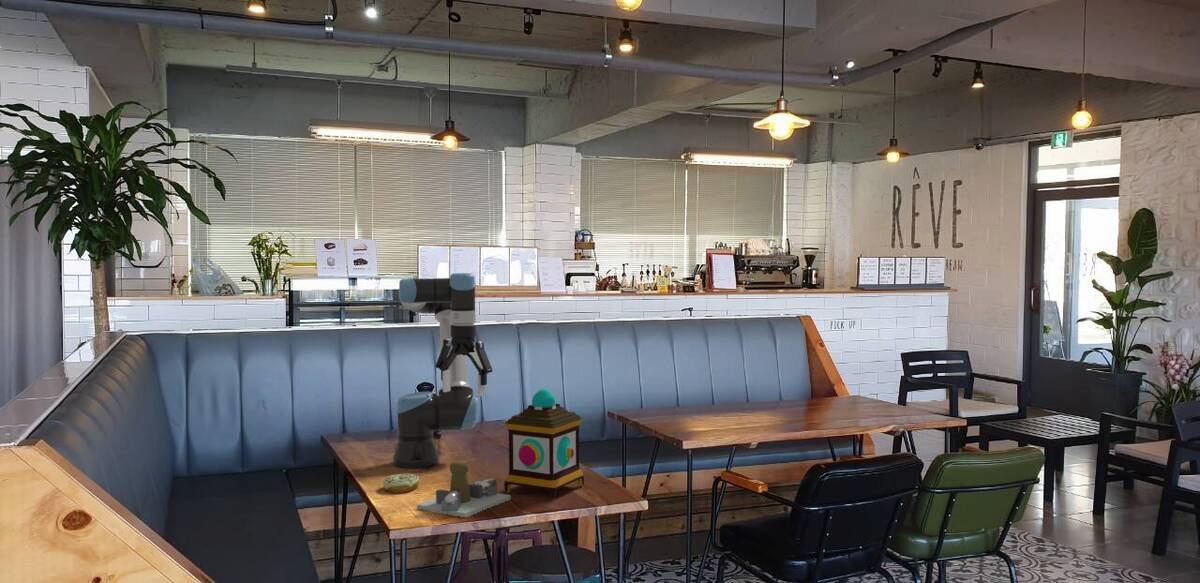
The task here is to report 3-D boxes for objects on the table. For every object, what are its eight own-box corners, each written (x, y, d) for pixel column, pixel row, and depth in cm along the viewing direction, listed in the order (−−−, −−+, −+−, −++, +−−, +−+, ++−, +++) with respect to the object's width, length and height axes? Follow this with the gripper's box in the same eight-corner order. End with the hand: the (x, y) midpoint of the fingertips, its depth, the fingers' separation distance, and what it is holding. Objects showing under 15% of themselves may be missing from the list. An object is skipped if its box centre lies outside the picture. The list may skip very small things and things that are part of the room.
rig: (417, 508, 243) (416, 491, 242) (463, 491, 260) (463, 475, 259) (465, 517, 234) (465, 500, 234) (510, 499, 251) (510, 483, 251)
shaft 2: (480, 498, 248) (480, 483, 248) (472, 495, 252) (471, 480, 251) (498, 494, 252) (498, 479, 252) (489, 491, 255) (489, 476, 255)
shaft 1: (446, 505, 241) (446, 490, 241) (462, 505, 241) (462, 490, 241) (441, 510, 236) (441, 495, 236) (457, 511, 236) (457, 495, 236)
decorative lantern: (555, 502, 248) (554, 396, 246) (497, 493, 257) (496, 391, 256) (590, 485, 265) (589, 386, 264) (535, 477, 275) (534, 382, 274)
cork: (445, 499, 248) (445, 460, 247) (466, 496, 250) (466, 457, 250) (452, 504, 242) (452, 464, 242) (473, 501, 245) (473, 462, 244)
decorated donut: (380, 494, 258) (380, 482, 258) (386, 485, 268) (386, 472, 268) (417, 493, 259) (416, 480, 258) (421, 483, 269) (420, 471, 269)
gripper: (423, 323, 271) (424, 391, 272) (487, 327, 258) (488, 399, 259) (439, 320, 277) (440, 387, 279) (503, 325, 264) (504, 395, 266)
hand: (463, 393), depth 269 cm, fingers open, 13 cm apart
